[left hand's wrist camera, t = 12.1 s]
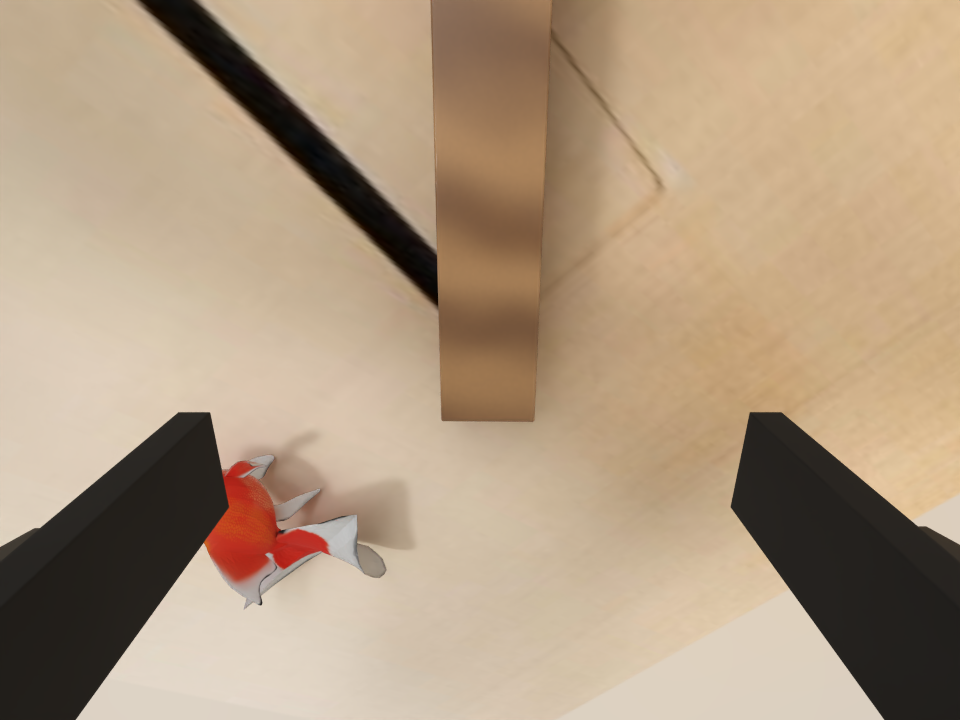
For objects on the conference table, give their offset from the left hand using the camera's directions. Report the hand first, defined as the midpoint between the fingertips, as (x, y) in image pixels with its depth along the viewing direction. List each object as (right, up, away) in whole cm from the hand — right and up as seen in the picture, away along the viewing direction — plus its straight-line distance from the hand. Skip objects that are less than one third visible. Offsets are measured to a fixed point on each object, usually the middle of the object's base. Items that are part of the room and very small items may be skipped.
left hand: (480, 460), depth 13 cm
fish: (-13, -8, +27) cm, 31 cm away
